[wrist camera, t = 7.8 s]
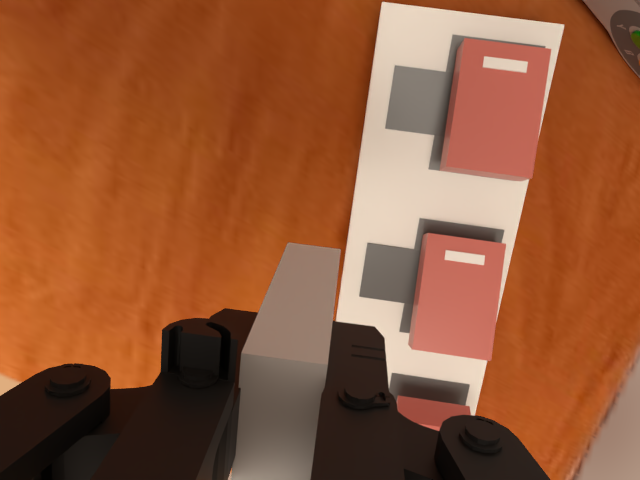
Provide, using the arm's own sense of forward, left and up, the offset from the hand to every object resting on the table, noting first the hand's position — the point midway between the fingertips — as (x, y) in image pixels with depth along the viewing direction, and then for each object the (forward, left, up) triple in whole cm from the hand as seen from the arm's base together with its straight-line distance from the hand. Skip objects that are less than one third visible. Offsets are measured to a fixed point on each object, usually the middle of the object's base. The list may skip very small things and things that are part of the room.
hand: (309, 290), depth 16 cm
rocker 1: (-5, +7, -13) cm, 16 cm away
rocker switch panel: (+4, +6, -20) cm, 21 cm away
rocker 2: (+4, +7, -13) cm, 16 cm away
